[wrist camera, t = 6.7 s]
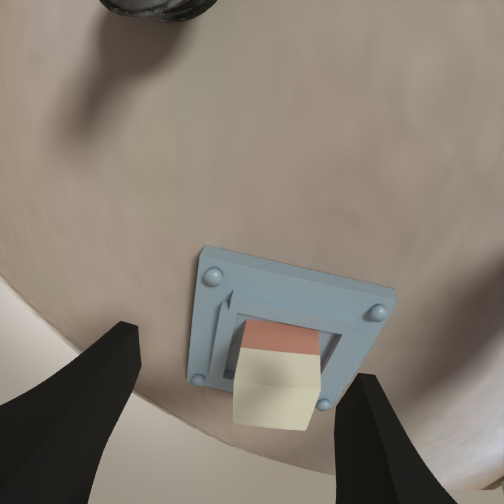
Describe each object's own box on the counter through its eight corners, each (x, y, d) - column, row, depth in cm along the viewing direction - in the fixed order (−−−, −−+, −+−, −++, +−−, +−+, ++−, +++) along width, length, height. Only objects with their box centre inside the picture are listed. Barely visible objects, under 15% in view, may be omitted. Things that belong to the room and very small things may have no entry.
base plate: (393, 288, 19) (401, 308, 17) (330, 398, 25) (330, 417, 23) (205, 245, 19) (196, 262, 17) (190, 370, 25) (184, 389, 23)
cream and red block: (318, 326, 20) (320, 389, 15) (306, 371, 22) (305, 430, 18) (246, 318, 20) (233, 381, 16) (244, 365, 22) (233, 423, 18)
